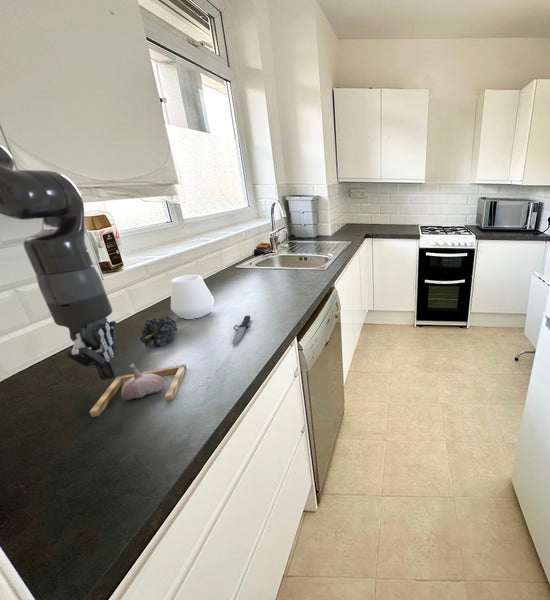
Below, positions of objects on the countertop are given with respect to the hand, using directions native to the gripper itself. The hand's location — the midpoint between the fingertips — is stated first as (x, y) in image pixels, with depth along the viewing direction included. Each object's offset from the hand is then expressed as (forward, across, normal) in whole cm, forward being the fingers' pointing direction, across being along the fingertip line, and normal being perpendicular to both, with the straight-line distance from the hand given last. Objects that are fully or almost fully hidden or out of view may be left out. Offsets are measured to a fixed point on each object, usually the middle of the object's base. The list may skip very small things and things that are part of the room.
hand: (110, 377), depth 61 cm
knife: (+10, -34, +19) cm, 40 cm away
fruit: (+10, -38, -2) cm, 39 cm away
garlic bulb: (+10, -8, +1) cm, 13 cm away
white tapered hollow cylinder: (+10, -56, +2) cm, 57 cm away
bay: (+10, -9, 0) cm, 14 cm away
